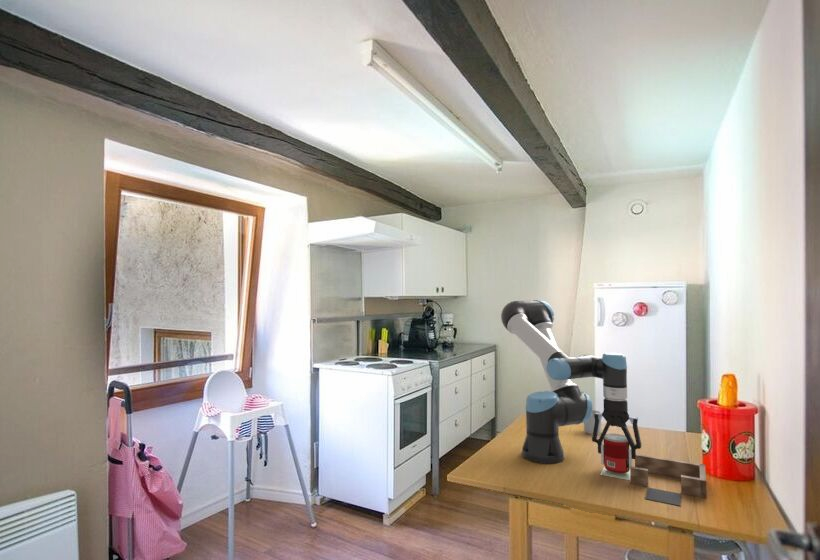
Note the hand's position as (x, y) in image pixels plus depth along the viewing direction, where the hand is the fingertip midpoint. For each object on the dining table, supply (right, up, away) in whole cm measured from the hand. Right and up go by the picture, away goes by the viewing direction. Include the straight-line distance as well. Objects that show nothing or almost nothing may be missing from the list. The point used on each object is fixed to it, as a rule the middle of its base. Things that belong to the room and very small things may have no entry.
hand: (616, 465), depth 155 cm
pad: (0, -2, 0) cm, 2 cm away
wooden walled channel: (+13, -2, -8) cm, 15 cm away
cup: (+11, -4, +46) cm, 47 cm away
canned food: (0, -1, 0) cm, 1 cm away
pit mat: (+5, -2, -19) cm, 20 cm away
